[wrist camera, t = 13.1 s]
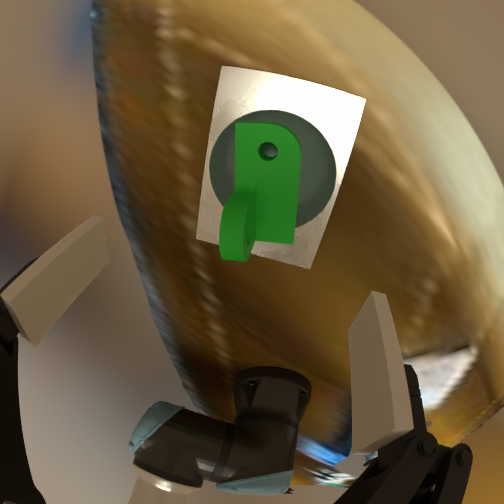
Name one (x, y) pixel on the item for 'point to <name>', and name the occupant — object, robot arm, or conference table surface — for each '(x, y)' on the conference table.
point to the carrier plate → (312, 151)
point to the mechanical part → (261, 190)
